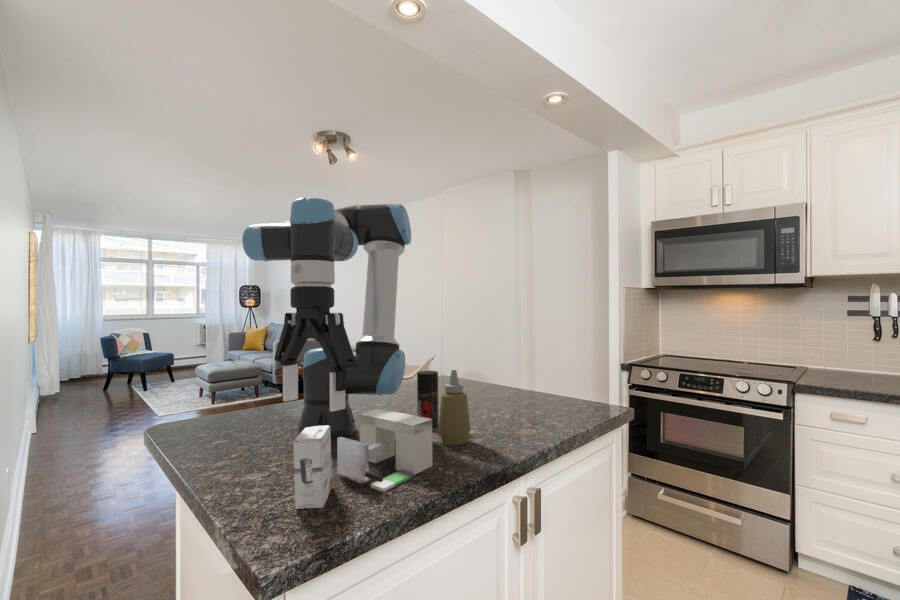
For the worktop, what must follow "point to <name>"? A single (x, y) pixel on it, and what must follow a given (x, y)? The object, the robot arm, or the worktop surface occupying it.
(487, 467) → the worktop surface
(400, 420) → the white and green frame
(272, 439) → the worktop surface
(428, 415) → the deodorant
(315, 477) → the ink box
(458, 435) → the squeeze bottle
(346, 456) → the grey bar with plate
